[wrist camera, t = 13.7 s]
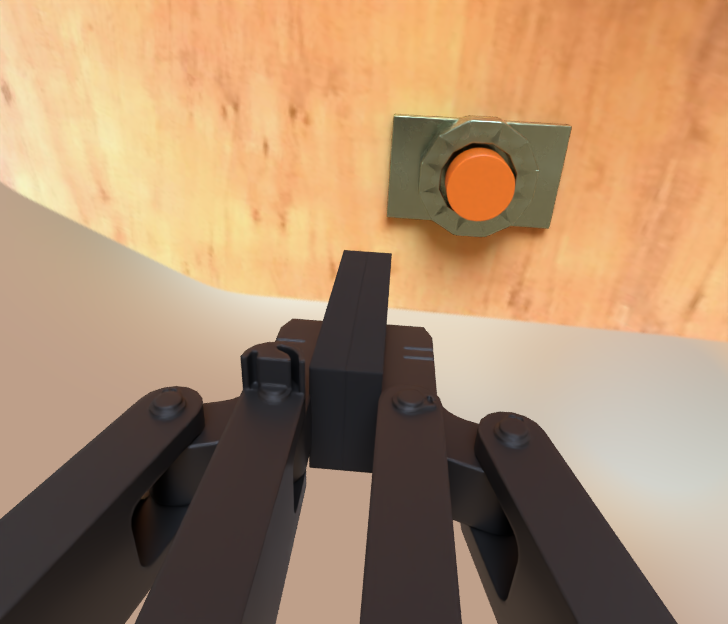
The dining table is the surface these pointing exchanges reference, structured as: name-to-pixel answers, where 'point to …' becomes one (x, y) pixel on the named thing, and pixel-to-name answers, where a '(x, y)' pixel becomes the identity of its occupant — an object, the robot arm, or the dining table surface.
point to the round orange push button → (479, 184)
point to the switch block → (455, 135)
